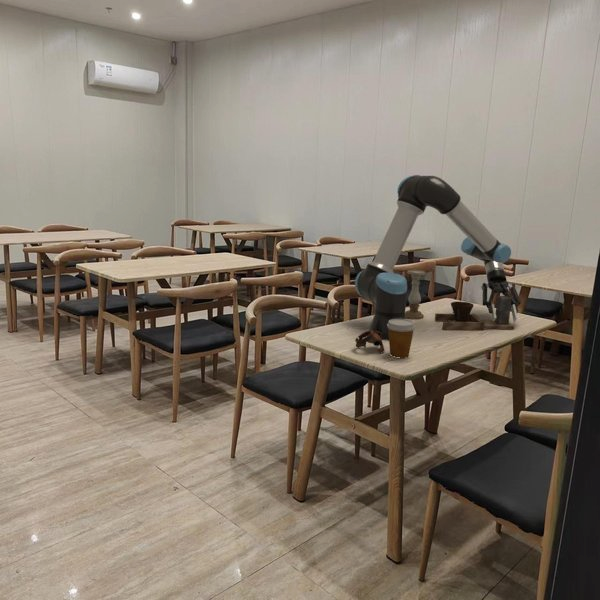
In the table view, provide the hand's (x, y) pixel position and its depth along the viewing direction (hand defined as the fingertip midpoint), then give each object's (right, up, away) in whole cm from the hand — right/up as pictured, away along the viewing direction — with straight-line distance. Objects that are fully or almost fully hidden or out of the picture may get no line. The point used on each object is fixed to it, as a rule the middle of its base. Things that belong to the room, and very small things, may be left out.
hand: (505, 319), depth 221 cm
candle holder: (-34, 0, +17) cm, 38 cm away
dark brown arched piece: (-58, -10, -29) cm, 66 cm away
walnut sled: (-11, -3, +4) cm, 12 cm away
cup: (-17, -3, +4) cm, 18 cm away
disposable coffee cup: (-50, -11, -34) cm, 61 cm away
